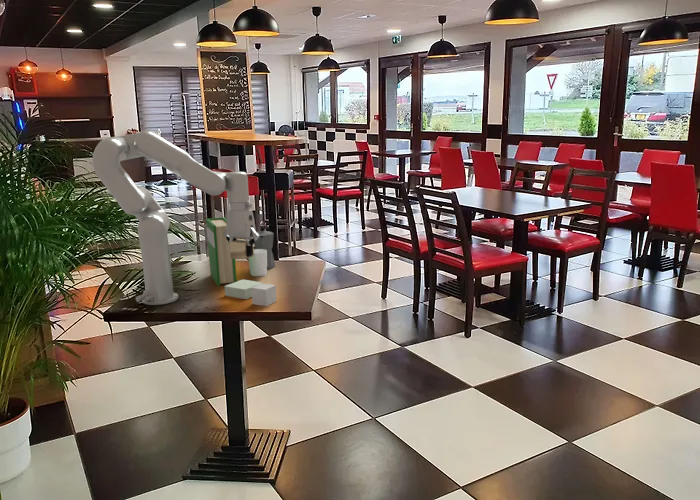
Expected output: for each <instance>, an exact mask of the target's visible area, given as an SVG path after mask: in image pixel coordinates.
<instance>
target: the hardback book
mask: <svg viewBox="0 0 700 500" xmlns="http://www.w3.org/2000/svg"><path fill="white" fill-rule="evenodd" d="M226 219H227V217H224V216H223V217H213V218H212V217H211V218H206V219H205V221H206V232H207V233H206V235H207V245H208V246H207V248H208V257H209V259H208V260H209V270H210V271H209V273H210V277H211V278H212V280H213V282H215V285H217V287H221V285H222V284H232V283H234V282H237V281H238V280H237V279H238V278H237V269H236V268H237V267H236V259H233V258H231V255H230V244H229V242H228V240H227V239H226V238H225V236H224V235H223V233H224V231H225V230H226V229H227V228H226Z"/></svg>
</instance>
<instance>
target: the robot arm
mask: <svg viewBox="0 0 700 500" xmlns="http://www.w3.org/2000/svg"><path fill="white" fill-rule="evenodd" d="M142 157H145V158H147V159H148V160H150V161H152V162H154V163H156V164H157V165H160V167H163V168H164V169H166V170H168V171H170V172H171V173H172V174H174V175H175V176H177V177H179V178H181V179H183V180H184V181H186V182H187V183H188V184H190V185H192V186H193V187H196V188H197V189H199V190H201V191H202V192H204V193H206V194H208V195H210V196H219V195H221V194H223V192H226V196H227V208H228V209H227V211H226V228H227V229H226V230H225V231H224V233H223V235H224V236H225V238H226V239H227V240H228V242H229V244H230V242H232V241H235V240H238V239H245V241H246V243H247V246H246V254H247V257H249V256H252V255H253V248H254V243H255V241H256V240H257V239H258V238H259V234H258V233H257V232H258V231H256V229H257V228H256V224H255V223H256V222H255V217H254V213H253V210H252V209H250V208H252V206H253V205H252V203H250V195H249V180H248V179H249V177H248V173H247V172H246V171H230V172H227V171H226V172H224V171H213V170H211V169H209V168H208V167H206V166H205V165H203V164H201V163H200V162H198V161H196V159H194V158H193V157H192V156H191V155H190V154H189V153H188V152H187V151H185V150H184V149H182V148H181V147H178V146H177V145H175V144H173V143H171V142H170V141H168V140H166V139H165V138H163V137H162V136H161V135H160V134H159V133H158V132H156V131H154V130H142V131H140V132H136V133H131V134H125V135H118V136H110V137H105V138H103V139H102V140H100V141H99V142H98V144H96V147H95V148H94V151H93V154H92V161H91V162H92V167H93V171H94V173H95V174H96V176H97V178H98V179H99V181H101V183H102V185H104V186H105V188H106V190H107V191H108V192H109V194H110V195H111V196H112V197H113V199H114V200H115V202H116V203H117V204H118V205H119V207H120V208H121V209H122V211H124V212H125V214H128V215H131V216H135V219H137V220H138V221H139V222H138V224H137V225H138V226H137V235H138V241H139V247H140V255H141V261H142V262H141V263H142V270H143V281H144V287H145V288H144V289H145V290H143V291H142V292H143V293H142V294H140V295H138V296H135V301H136V302H137V303H139V302H141V303H143V305H147V306H148V305H149V306H161V305H167V304H170V303H173V302H176V301H177V300H178V299H179V294H178V293H177V292H174V284H173V283H174V282H173V274H172V263H171V262H172V261H171V253H170V245H169V244H170V243H169V238H168V237H169V236H168V230H169V228H170V226H171V225H170V224H171V221H170V217H169V216H168V214H167V212H166V211H165V210H164V209H163V207H162V206H161V205H160V204H159V202H158V201H157V199H156V198H155V197H154V195H153V194H152V193H151V191H149V189H147V188H145V187H144V186H141V185H137V184H136V183H135V182H134V180H133V179H132V178H131V176H130V175H129V173H127V171H126V170H125V169H124V168H123V167H122V164H121V162H123V161H127V160H132V159H138V158H142ZM252 236H254V237H252Z"/></svg>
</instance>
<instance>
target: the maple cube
mask: <svg viewBox="0 0 700 500" xmlns="http://www.w3.org/2000/svg"><path fill="white" fill-rule="evenodd" d="M246 246H247V243H246V241H245V238H237V240H235V241H232V242H230V255H231V258H233V259H235V260H242V261H243V260H248V258H250V257H253V256H254V249H255V247H253V255H252V256H249V257H247V254H246Z"/></svg>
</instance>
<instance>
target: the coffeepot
mask: <svg viewBox="0 0 700 500" xmlns="http://www.w3.org/2000/svg"><path fill="white" fill-rule="evenodd" d="M256 232H257V233H258V234H259V238H258V239H257V240H256V241H255V243H254V244H253V247H254V249H265V250H267V270H270V269H274V268H275V267H276V262H275V258H274V253H273V251H272V249H273V246H274V236H275V233H274V232H272V231H268V230H266V229H265V226H261V227H260V230H259V231H256ZM253 237H254V236H252V238H253Z"/></svg>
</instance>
